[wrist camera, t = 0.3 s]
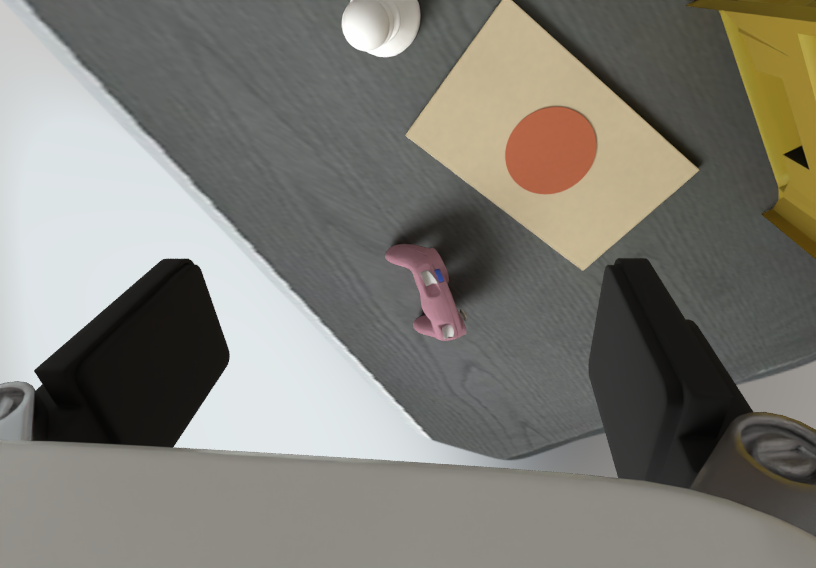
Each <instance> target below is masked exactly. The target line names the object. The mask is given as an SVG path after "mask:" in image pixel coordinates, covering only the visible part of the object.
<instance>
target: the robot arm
mask: <svg viewBox="0 0 816 568" xmlns="http://www.w3.org/2000/svg"><path fill="white" fill-rule="evenodd" d="M228 362H229V350H228V347H227V344H226V341H225V338H224V335H223V332H222V329H221V326H220V323H219V320H218V317H217V315H216V312H215V309H214V306H213V303H212V300H211V297H210V294H209V291H208V289H207V286H206V283H205V280H204V278H203V274H202V271H201V269H200V267H199V266H197V265H194V263H193V262H192V261H191V260H189V259H163V260H161V261H160V262H159V263H158V264H157V265H155V266H154V267H153V268H152V269H151V270H150V271H149V272H147V273H146V274H145V275H144V276H143V277H142V278H140V279H139V280H138V281H137V282H136V283H135V284H133V285H132V286H131V287H130V288H129V289H128V290H126V291H125V292H124V293H123V294H122V295H121V296H120V297H118V299H116V300H115V301H114V302H113V303H112V304H111V305H109V306H108V307H107V308H106V309H105V310H103V311H102V312H101V313H100V314H99V315H98V316H96V317H95V318H94V319H93V320H92V321H91V322H90V323H88V324H87V325H86V326H85V327H84V328H83V329H81V330H80V331H79V332H78V333H77V334H76V335H74V336H73V337H72V338H71V339H70V340H69V341H68V342H66V343H65V344H64V345H63V346H62V347H61V348H59V349H58V350H57V351H56V352H55V353H54V354H53V355H51V356H50V357H49V358H48V359H47V360H46V361H44V362H43V363H42V364H41V365H40V366H39V367H38V368H37V369H35V370H34V372H35V373H36V374H37V376H38V378H39V379H40V381H41V382H42V385H41V386H40V387H39V388H38V389H37V390H36V391H35V389H34V388H33V386H32V385H30V384H29V383H27V382H19V381H15V382H7V383H3V384H0V568H816V430H815V429H813V428H811V427H809V426H808V425H806V424H804V423H802V422H800V421H797V420H794V419H791V418H788V417H786V416H783V415H777V414H773V413H767V412H753V411H752V409H751V408H750V406H749V405H748V403H747V401H746V400H745V398H744V397H743V395H742V394H741V392H740V391H739V389H738V387H737V386H736V384H735V383H734V381H733V380H732V378H731V377H730V375H729V374H728V372H727V371H726V369H725V367H724V366H723V364H722V363H721V361H720V360H719V358H718V357H717V355H716V354H715V352H714V351H713V349H712V347H711V346H710V344H709V343H708V341H707V340H706V338H705V337H704V335H703V334H702V332H701V331H700V329H699V327H698V326H697V325H696V324H695V323H694V322H693V321H691V320H685V318H684V316H683V315H682V313H681V312H680V310H679V308H678V307H677V305H676V304H675V302H674V300H673V299H672V297H671V296H670V294H669V292H668V291H667V289H666V288H665V286H664V284H663V283H662V281H661V280H660V278H659V276H658V275H657V273H656V272H655V270H654V268H653V267H652V265H651V264H650V262H649V261H648V260H647V259H645V258H618V259H617V260H616V261H615V263H614V265H607V266H606V268H605V271H604V277H603V283H602V288H601V294H600V300H599V306H598V311H597V317H596V323H595V329H594V334H593V340H592V346H591V352H590V358H589V377H590V381H591V384H592V388H593V391H594V395H595V398H596V402H597V405H598V409H599V412H600V416H601V419H602V423H603V426H604V429H605V433H606V436H607V440H608V443H609V447H610V450H611V454H612V457H613V461H614V464H615V468H616V471H617V475H618V478H611V477H603V476H593V475H583V474H572V473H561V472H547V471H533V470H519V469H508V468H494V467H479V466H464V465H449V464H434V463H418V462H404V461H389V460H388V461H387V460H373V459H357V458H341V457H324V456H309V455H293V454H276V453H259V452H242V451H226V450H208V449H190V448H173V447H174V445H175V444H176V442H177V441H178V439H179V438H180V436H181V435H182V433H183V432H184V430H185V429H186V427H187V426H188V424H189V423H190V421H191V420H192V418H193V416H194V415H195V414H196V412H197V411H198V409H199V407H200V406H201V404H202V403H203V402H204V400H205V398H206V397H207V395H208V394H209V392H210V391H211V389H212V388H213V386H214V385H215V383H216V382H217V380H218V379H219V377H220V376H221V374H222V373H223V371H224V370H225V368H226V367H227V365H228Z"/></svg>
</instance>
